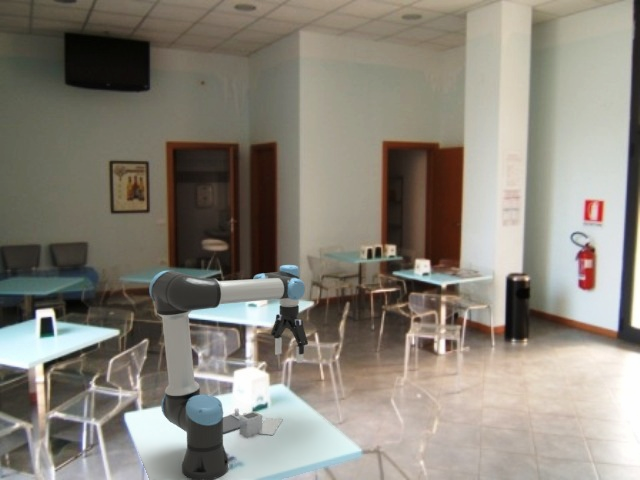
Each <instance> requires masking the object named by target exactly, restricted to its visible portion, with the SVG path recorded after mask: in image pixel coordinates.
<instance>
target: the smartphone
mask: <svg viewBox="0 0 640 480" xmlns="http://www.w3.org/2000/svg"><path fill="white" fill-rule="evenodd" d="M282 422H283V418H270V417H268V418H267V417H266V418H265V419H264V420H263V421H262V433H260V434H258V435H260V436H261V435H262V436H271V437H272V436H274V435H275V433H276V431H278V428H279V427H280V426H281V424H282Z"/></svg>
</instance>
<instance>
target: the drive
mask: <svg viewBox="0 0 640 480" xmlns="http://www.w3.org/2000/svg"><path fill="white" fill-rule="evenodd" d="M240 415H241V414H240ZM262 423H263V415H262V414H261V413H259V412H258V411H251V412H248V413H247V414H244V415H243V414H242V415H241V416H239V429H238V431H239V435H240V436H242V437H244V438H246V439H249V438H251V437H255V436H258V435H259V434H260V433H262Z"/></svg>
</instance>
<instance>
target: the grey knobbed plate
mask: <svg viewBox="0 0 640 480" xmlns="http://www.w3.org/2000/svg"><path fill="white" fill-rule="evenodd" d="M239 412H240V411H239V408H235V409H234V413H230V414H229V415H226V416H223V435H225V434H229V433H231V432H235V431H239V416H241V414H240V413H239ZM244 414H247V413H246V412H244V413H243V414H242V415H244Z"/></svg>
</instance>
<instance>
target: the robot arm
mask: <svg viewBox="0 0 640 480" xmlns="http://www.w3.org/2000/svg"><path fill="white" fill-rule="evenodd" d="M148 289H149V290H148V291H149V297H151V299H152V300H153V302H155V306H156V314H157V315H158V316H159V317H161V320H162V326H163V327H162V328H163V339H164V347H165V349H164V350H165V358H166V360H165V361H166V367H167V376H168V377H167V378H168V385H167V386H166V388H165V389H164V397H162V399H161V402H160V403H161V405H160V407H161V411H162V412H161V413H162V414H163V416H164V417H165V418H166V419H167V420H168V421H169V422H170V423H172V424H173V425H175V426H177V427H178V428H179V429H181V430H182V431H184V432H186V451H185V453H184V456H183V460H182V464H181V472H182V475H183V476H184V477H185V478H187V479H190V480H214V479H215V480H216V479H218V478H219V477H222V476H223V475H225V474H226V473H227V472H228V471H229V468H228V464H229V458H228V455H227V453H226V449H225V447H224V434H223V417H224V409H223V403H222V402H221V400H220V399H219V398H218V397H216V396H214V395H208V394H201V387H200V384H199V383H198V382H197V381H196V380H195V373H194V361H193V351H192V341H191V330H190V327H191V326H190V318H189V314H190V313H191V312H192V311H201V310H206V309H215V308H218V307H219V306H220V305H226V304H227V305H228V304H238V303H249V302H250V303H251V302H259V301H260V302H261V301H269V300H279V314H276V315H275V320H274V321H275V322H274V324H273V327H272V329H271V333H270V335H271V336H273V338H274V346H275V347H274V355H275V356H277V355H281V354H282V353H283V352H282V351H283V350H282V346H283V345H282V343H283V340H282V339H283V338H282V334H283V333H284V331H285V330H286V329H288V330H289V331H291V332H292V335H293V337H294V339H295V342H296V344H297V345H296V363H297V364H299V363H303V362H304V354H305V346H308V344H309V341H308V339H307V334H306V331H305V328H304V323H303V319H302V318H301V319H298V318H297V317H298V316H299V314H300V312H299V311H300V308H299V307H300V306H299V304H300V303H299V302H300V299H301V298H303V297H304V295H305V292H306V285H305V283H304V280H302V279H300V269H299V266H297V265H293V264H284V265H280V267H279V271H275V272H267V273H264V272H263V273H258V274H255V275H254V276H253V279H236V280H233V279H232V280H218V279H217V278H215V277H214V278H212V277H211V278H205V277H204V278H203V277H200V276H199V277H198V276H194V275H191V274H190V275H189V274H187V273H182V272H179V271H176V270H162V271H161V272H158V273H157V274H155V276H154V277H153V278H152V280H151V282H150V283H149V288H148ZM229 465H230V464H229Z"/></svg>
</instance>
